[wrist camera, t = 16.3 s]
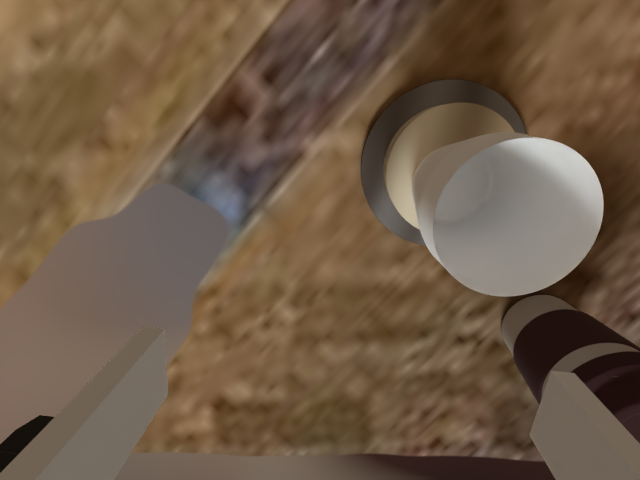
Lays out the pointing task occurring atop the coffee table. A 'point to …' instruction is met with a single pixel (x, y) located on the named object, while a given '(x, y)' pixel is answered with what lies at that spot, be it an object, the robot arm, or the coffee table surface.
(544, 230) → the cup
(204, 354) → the coffee table surface
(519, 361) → the coffee cup
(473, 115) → the pedestal
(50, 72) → the coffee table surface
